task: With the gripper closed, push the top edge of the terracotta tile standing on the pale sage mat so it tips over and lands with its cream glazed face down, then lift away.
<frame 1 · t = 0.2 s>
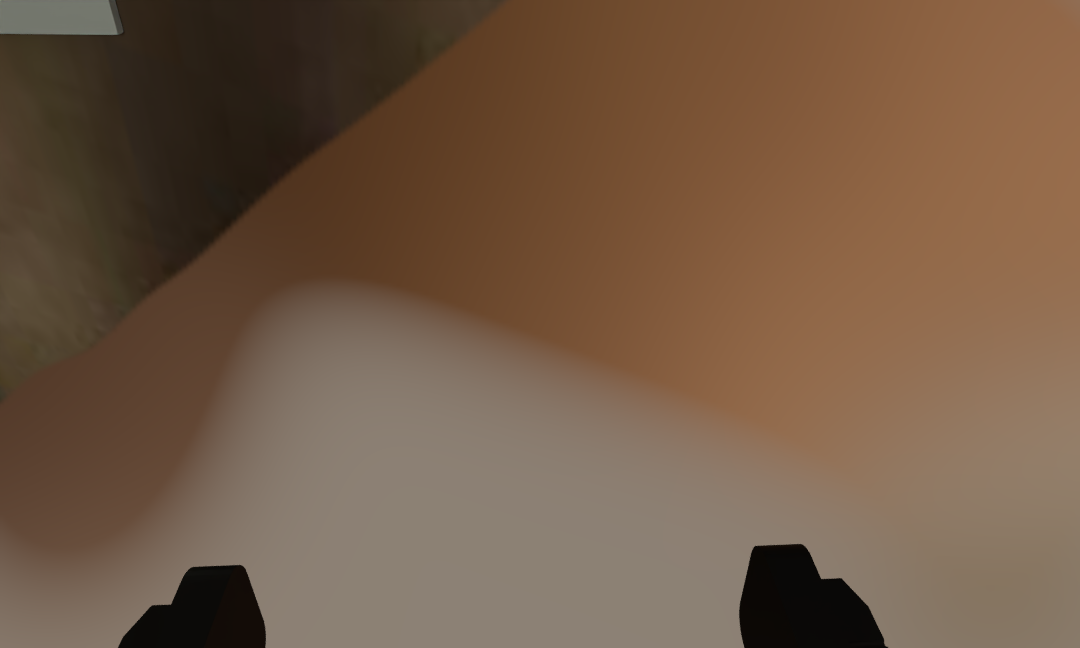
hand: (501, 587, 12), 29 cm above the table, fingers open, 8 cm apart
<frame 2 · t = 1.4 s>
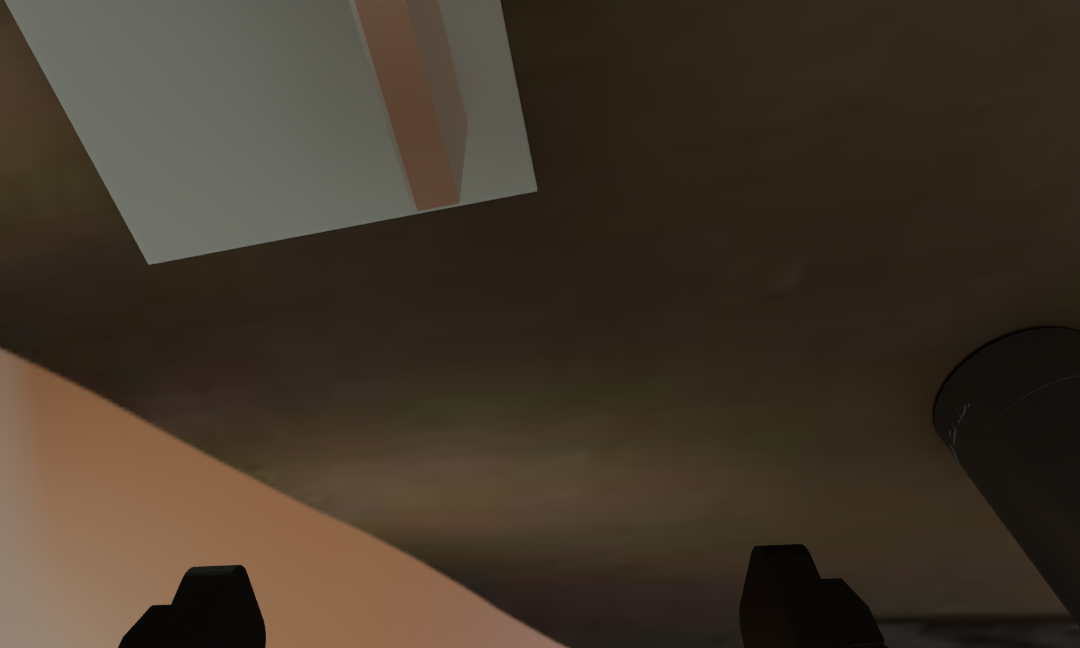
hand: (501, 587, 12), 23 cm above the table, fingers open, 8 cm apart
mat: (271, 28, 29), on the table
tile: (419, 0, 28), point 1 cm above the table, touching mat
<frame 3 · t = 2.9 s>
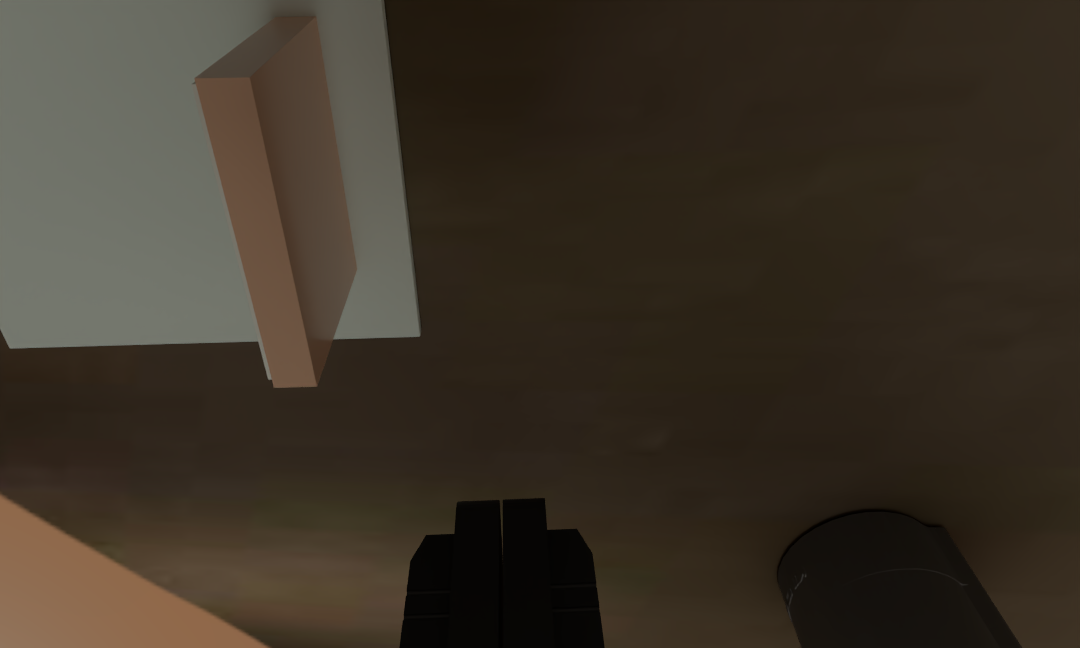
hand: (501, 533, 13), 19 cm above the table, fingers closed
mat: (167, 153, 29), on the table
tile: (320, 155, 28), point 1 cm above the table, touching mat
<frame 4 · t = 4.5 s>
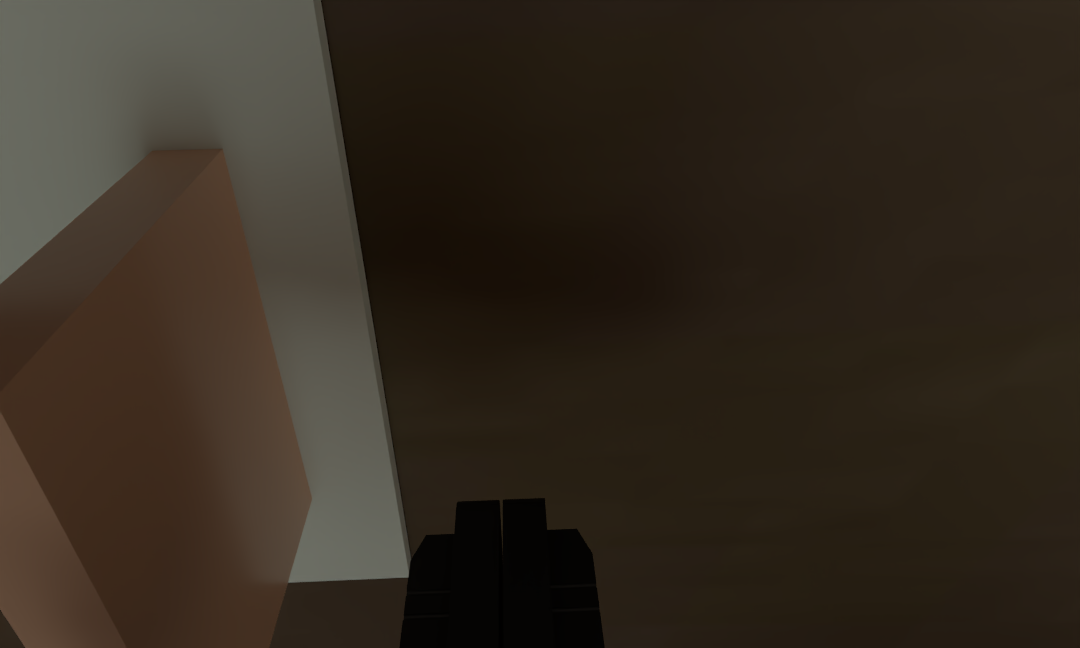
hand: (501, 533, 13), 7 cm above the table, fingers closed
mat: (2, 346, 18), on the table
tile: (244, 352, 18), point 1 cm above the table, touching mat
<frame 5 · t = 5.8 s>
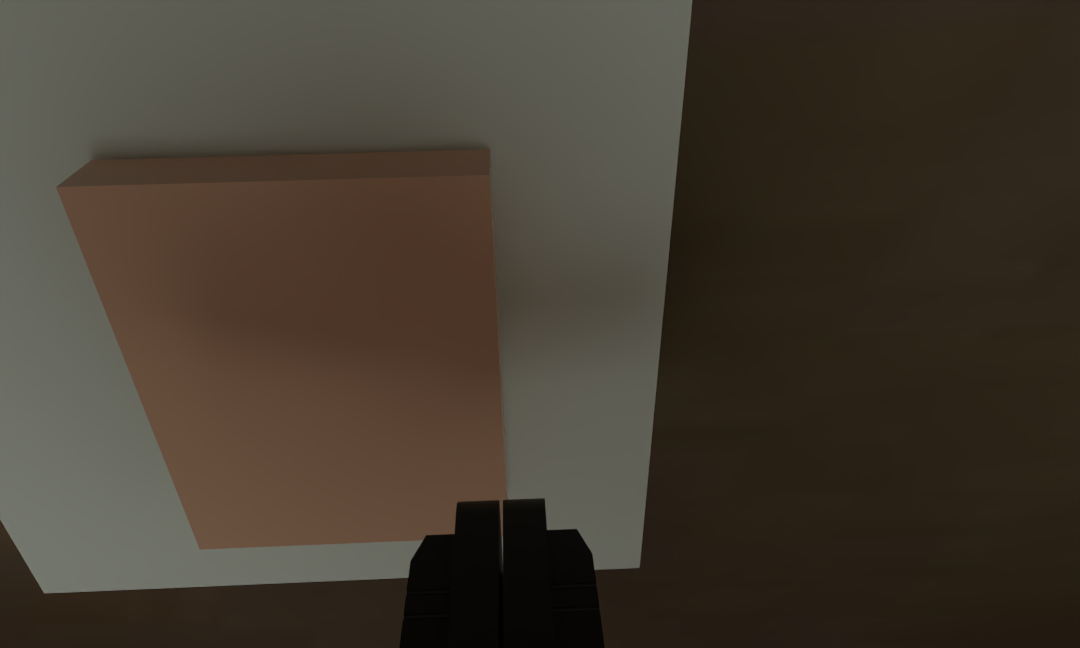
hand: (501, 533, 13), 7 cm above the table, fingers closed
mat: (295, 338, 18), on the table
tile: (500, 367, 17), point 1 cm above the table, tilted 90°, touching mat
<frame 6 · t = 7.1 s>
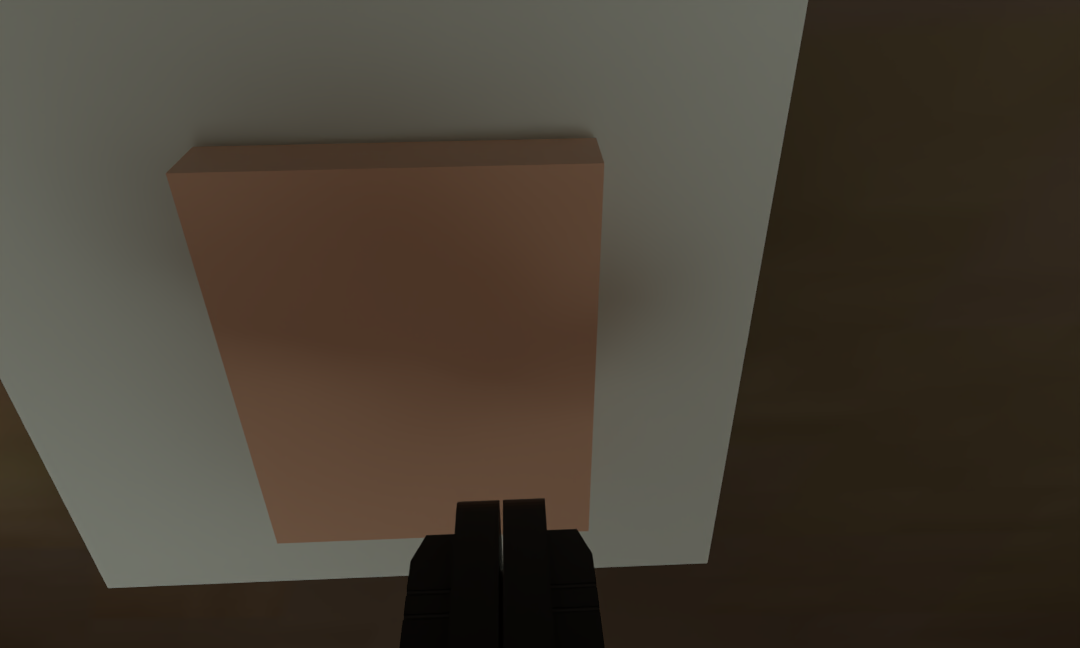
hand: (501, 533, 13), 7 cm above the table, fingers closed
mat: (378, 330, 18), on the table
tile: (591, 359, 17), point 1 cm above the table, tilted 90°, touching mat
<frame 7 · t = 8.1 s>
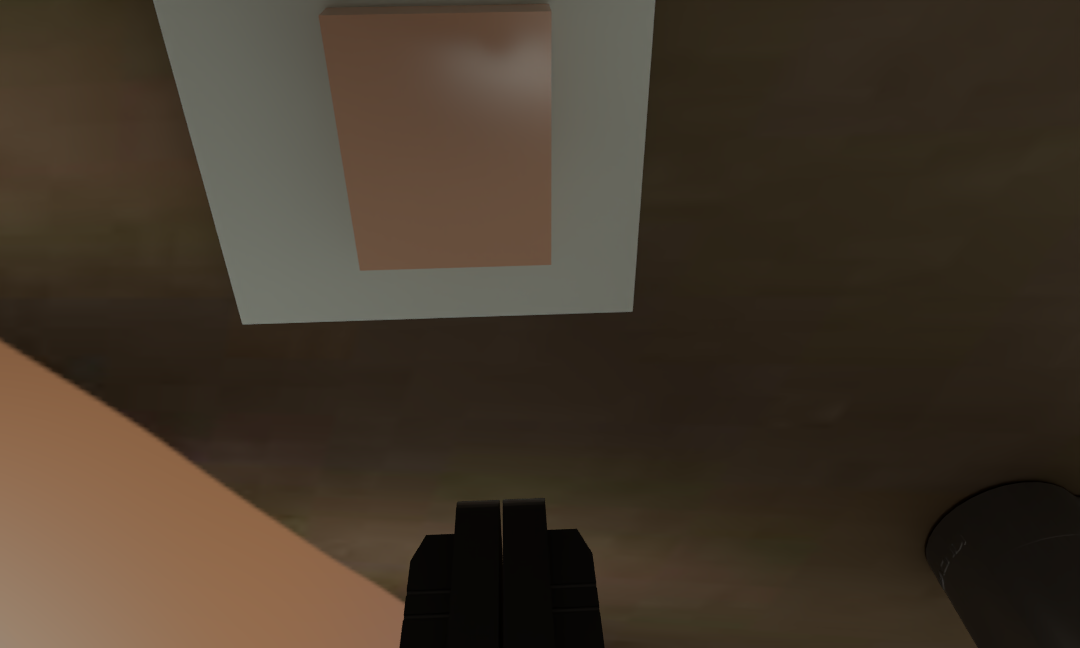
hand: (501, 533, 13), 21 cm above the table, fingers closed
mat: (423, 134, 30), on the table
tile: (550, 144, 29), point 1 cm above the table, tilted 90°, touching mat
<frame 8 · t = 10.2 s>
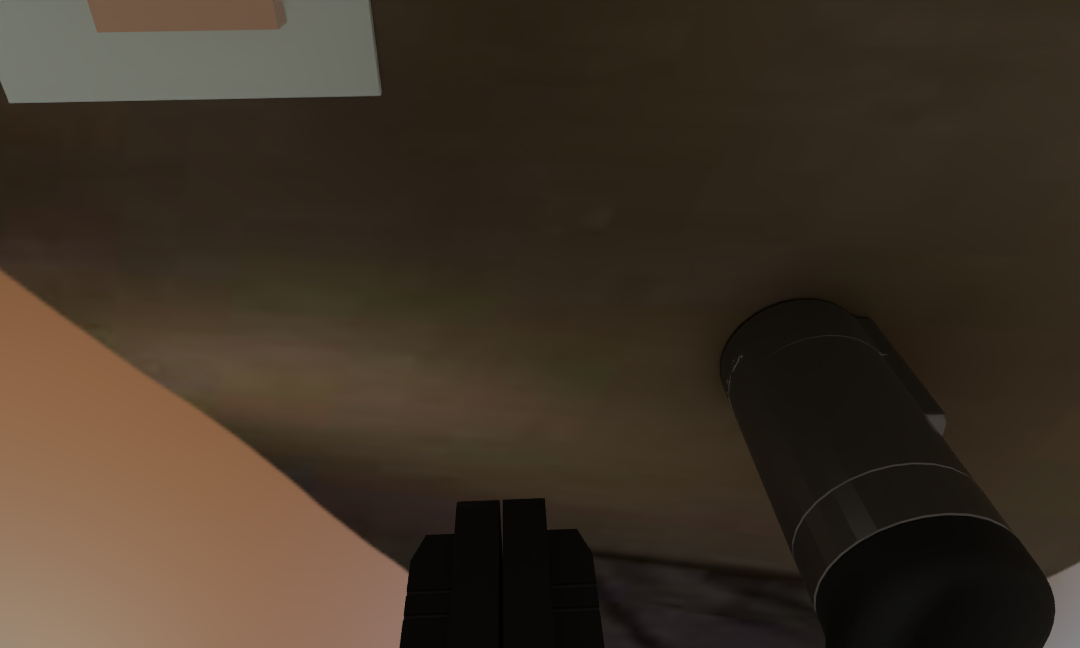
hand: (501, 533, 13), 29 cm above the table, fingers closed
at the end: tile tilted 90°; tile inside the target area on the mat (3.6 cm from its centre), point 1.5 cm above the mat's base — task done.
